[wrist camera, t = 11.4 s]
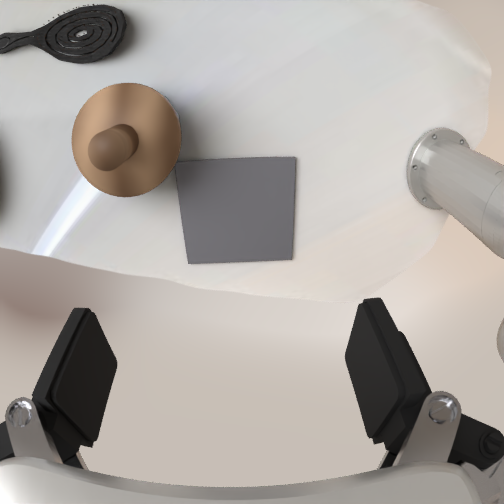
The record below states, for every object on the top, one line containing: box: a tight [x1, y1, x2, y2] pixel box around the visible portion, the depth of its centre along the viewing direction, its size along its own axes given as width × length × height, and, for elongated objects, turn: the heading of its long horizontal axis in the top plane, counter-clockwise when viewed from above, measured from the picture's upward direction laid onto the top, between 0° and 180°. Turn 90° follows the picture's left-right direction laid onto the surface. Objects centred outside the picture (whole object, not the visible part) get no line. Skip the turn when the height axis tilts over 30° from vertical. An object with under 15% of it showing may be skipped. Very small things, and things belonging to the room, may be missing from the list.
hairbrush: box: [0, 4, 127, 63], centre depth 24 cm, size 8×4×25 cm
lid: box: [72, 83, 181, 197], centre depth 28 cm, size 13×13×6 cm
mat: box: [175, 157, 295, 264], centre depth 41 cm, size 15×15×1 cm
